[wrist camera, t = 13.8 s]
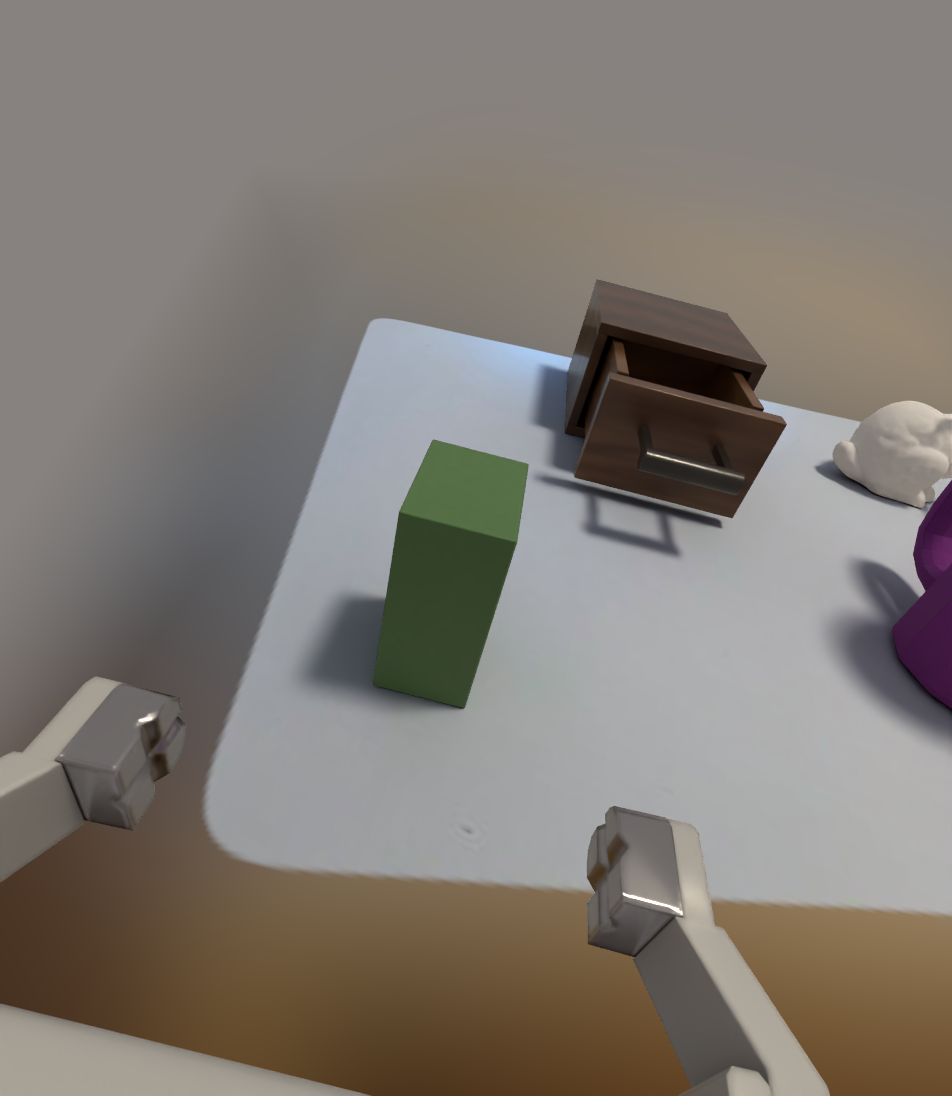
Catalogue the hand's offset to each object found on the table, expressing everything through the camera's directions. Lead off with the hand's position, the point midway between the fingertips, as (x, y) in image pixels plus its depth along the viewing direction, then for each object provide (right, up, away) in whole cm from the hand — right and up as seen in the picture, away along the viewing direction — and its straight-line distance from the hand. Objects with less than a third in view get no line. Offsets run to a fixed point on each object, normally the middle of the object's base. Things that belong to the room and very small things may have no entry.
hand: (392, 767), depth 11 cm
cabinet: (+16, +16, +43) cm, 49 cm away
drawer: (+14, +10, +33) cm, 38 cm away
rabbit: (+40, +9, +43) cm, 59 cm away
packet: (-1, -1, +16) cm, 16 cm away
